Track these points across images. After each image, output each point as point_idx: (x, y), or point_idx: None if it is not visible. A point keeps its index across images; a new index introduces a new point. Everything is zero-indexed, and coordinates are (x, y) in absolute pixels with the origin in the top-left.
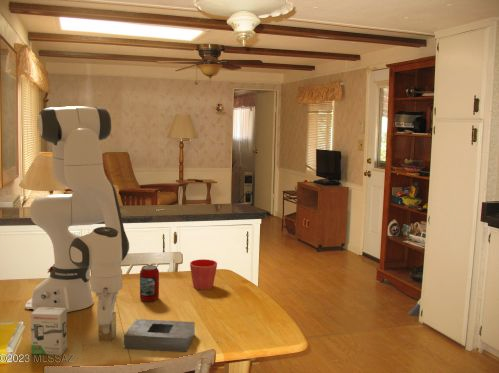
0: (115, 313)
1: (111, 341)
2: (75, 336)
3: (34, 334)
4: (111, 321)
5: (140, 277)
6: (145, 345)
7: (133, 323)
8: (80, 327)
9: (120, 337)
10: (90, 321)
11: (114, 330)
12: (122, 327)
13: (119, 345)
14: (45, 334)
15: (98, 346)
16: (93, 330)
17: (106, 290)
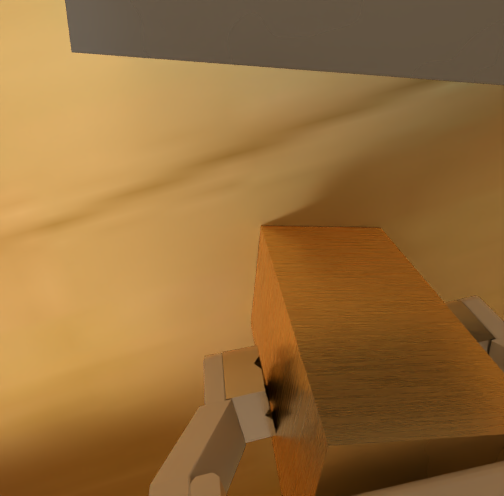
0: (361, 431)
1: (381, 231)
2: (273, 451)
3: None
4: (501, 371)
5: None
6: None
7: (296, 61)
8: (128, 477)
9: (289, 180)
10: (4, 470)
11: (332, 268)
12: (39, 231)
13: (470, 139)
14: None
15: (450, 291)
16: (164, 405)
17: None
